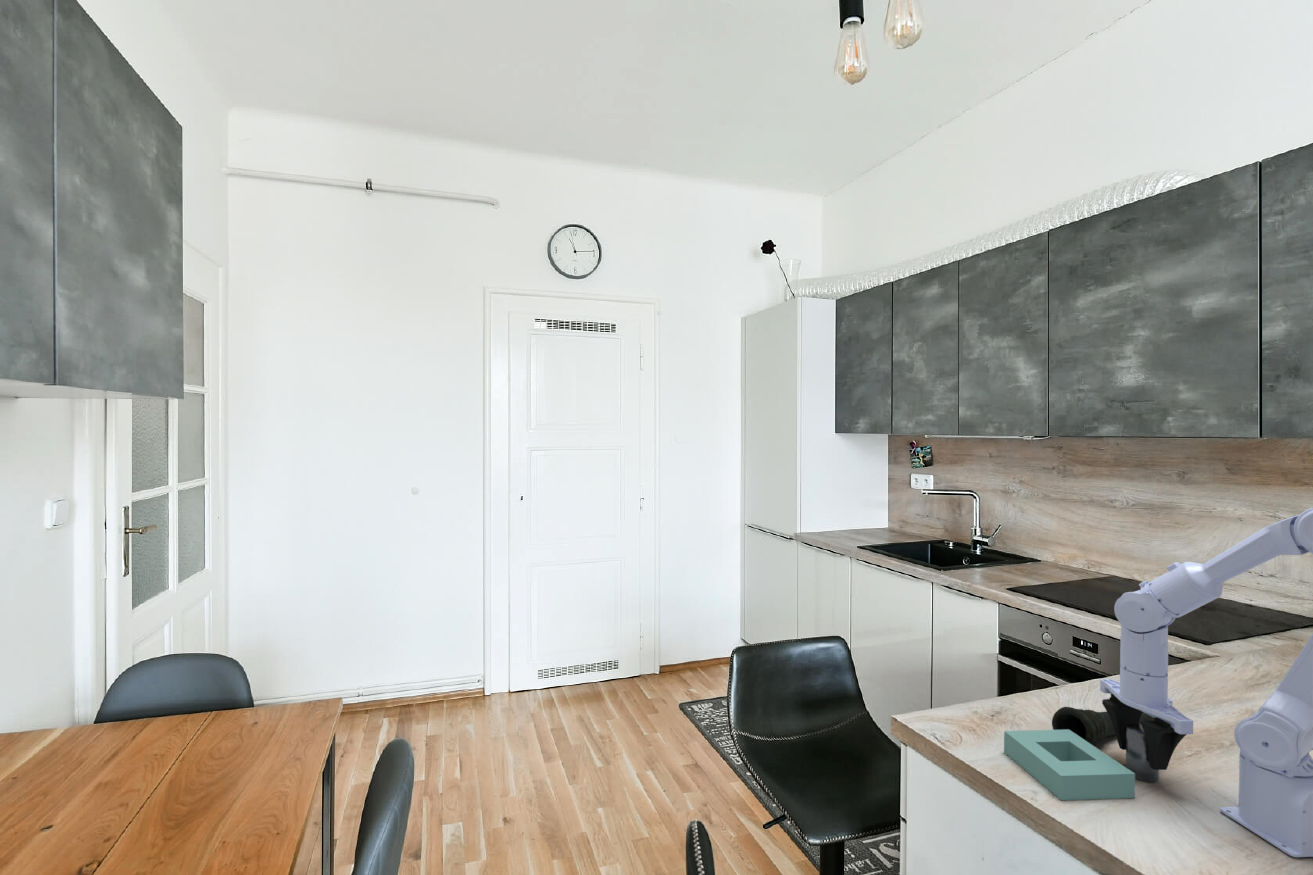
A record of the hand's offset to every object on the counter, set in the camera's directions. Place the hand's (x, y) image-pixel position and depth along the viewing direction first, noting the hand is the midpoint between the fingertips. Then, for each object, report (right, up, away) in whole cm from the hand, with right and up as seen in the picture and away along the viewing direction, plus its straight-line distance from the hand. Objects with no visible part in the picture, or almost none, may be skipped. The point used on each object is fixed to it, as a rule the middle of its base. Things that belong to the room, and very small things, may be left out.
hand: (1142, 758), depth 94 cm
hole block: (-12, -3, 0) cm, 12 cm away
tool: (+6, -3, +15) cm, 16 cm away
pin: (0, -3, 0) cm, 3 cm away
